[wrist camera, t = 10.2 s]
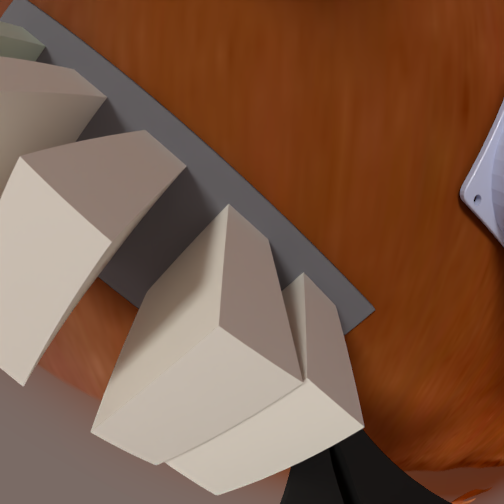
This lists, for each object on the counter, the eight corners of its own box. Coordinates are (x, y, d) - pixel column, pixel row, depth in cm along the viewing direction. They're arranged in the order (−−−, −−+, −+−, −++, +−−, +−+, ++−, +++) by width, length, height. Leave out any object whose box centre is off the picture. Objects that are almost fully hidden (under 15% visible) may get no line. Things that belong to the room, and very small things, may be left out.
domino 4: (336, 305, 12) (364, 426, 6) (250, 372, 14) (216, 495, 7) (303, 272, 12) (307, 378, 6) (219, 344, 14) (163, 460, 7)
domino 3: (268, 239, 12) (302, 382, 5) (184, 319, 13) (156, 465, 7) (228, 203, 11) (218, 325, 5) (147, 291, 12) (90, 432, 6)
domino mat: (372, 306, 14) (375, 309, 13) (265, 388, 15) (265, 392, 15) (21, -4, 7) (17, -6, 6) (-49, 120, 9) (-53, 121, 8)
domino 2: (186, 166, 10) (111, 241, 4) (109, 260, 12) (23, 386, 5) (145, 129, 10) (19, 156, 3) (73, 229, 11) (-36, 333, 5)
